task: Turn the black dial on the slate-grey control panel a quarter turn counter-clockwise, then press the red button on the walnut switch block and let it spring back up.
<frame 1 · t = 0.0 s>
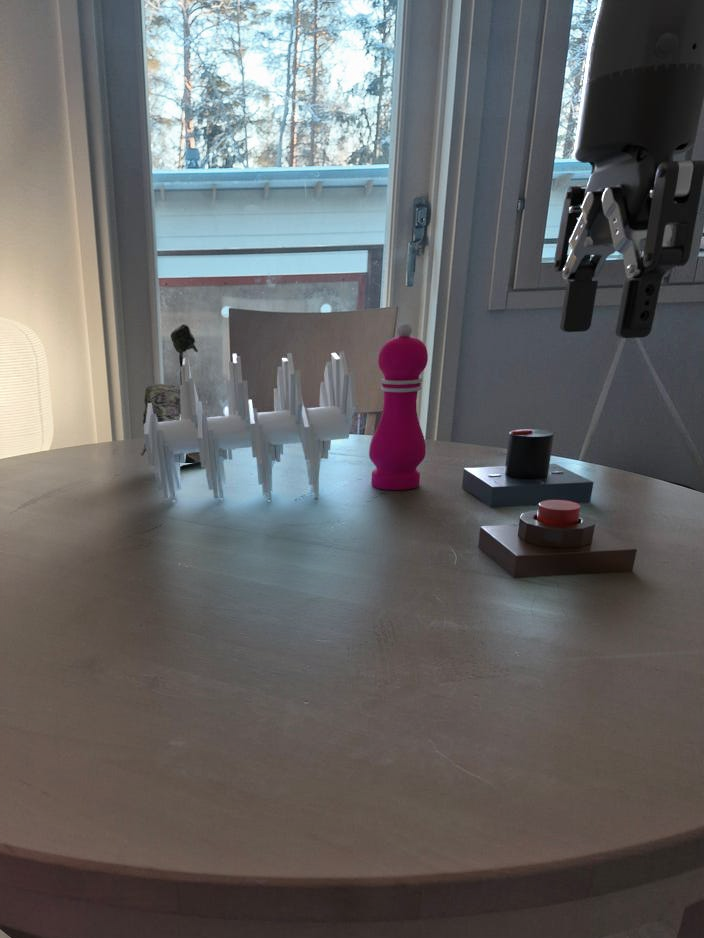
hand: (601, 334, 57), 20 cm above the table, tool pointing down, fingers open, 8 cm apart
spiral staircase: (248, 499, 96), on the table
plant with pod: (178, 466, 115), on the table
pepper mill: (394, 486, 99), on the table
button: (558, 513, 69), point 4 cm above the table, slide at 0.1 cm
switch block: (550, 558, 71), on the table
dial: (528, 452, 90), point 5 cm above the table, hinge at 0.0°
panel: (523, 494, 92), on the table
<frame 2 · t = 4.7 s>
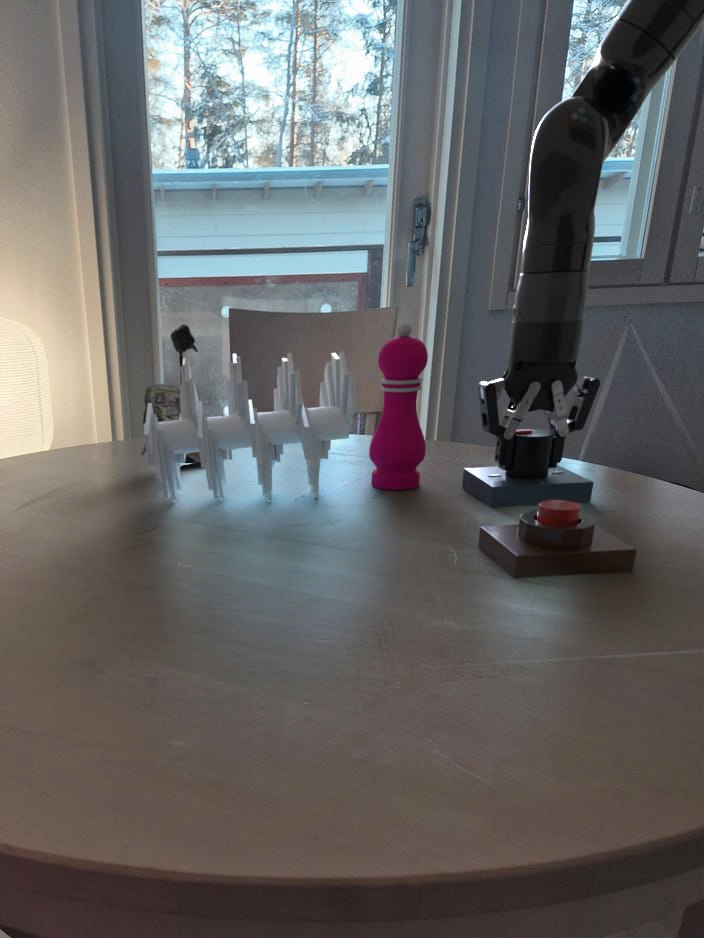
hand: (527, 467, 91), 3 cm above the table, tool pointing down, fingers closed on dial, 5 cm apart
dial: (528, 452, 90), point 5 cm above the table, hinge at -0.1°, touching gripper
everything else where it was.
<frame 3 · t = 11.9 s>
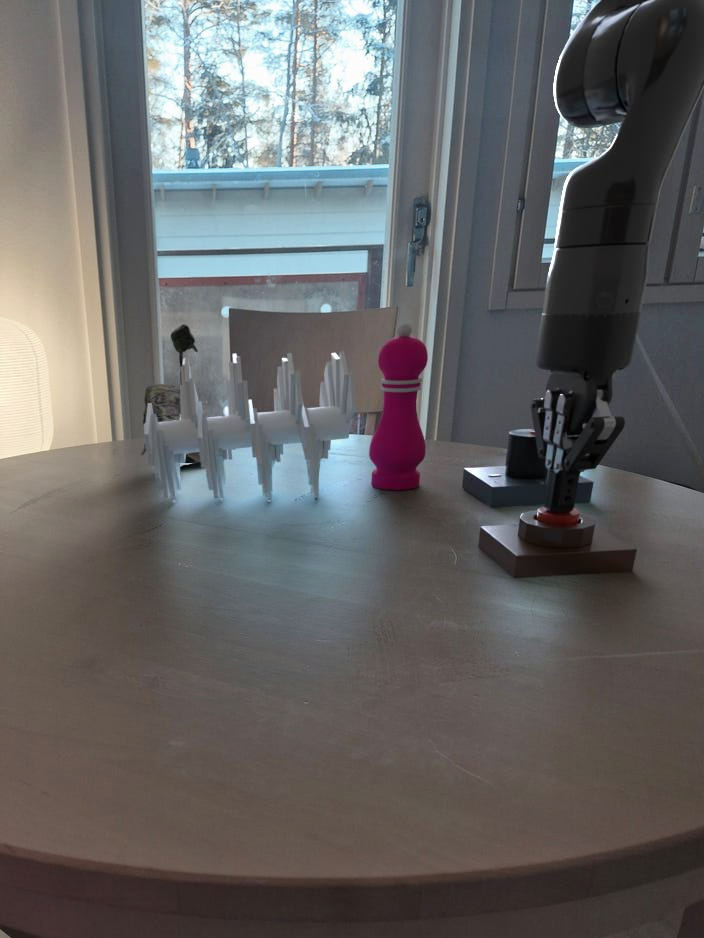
hand: (557, 510, 69), 5 cm above the table, tool pointing down, fingers closed
button: (557, 519, 70), point 4 cm above the table, slide at -0.5 cm, touching gripper
dial: (528, 452, 90), point 5 cm above the table, hinge at 92.1°
everything else where it was.
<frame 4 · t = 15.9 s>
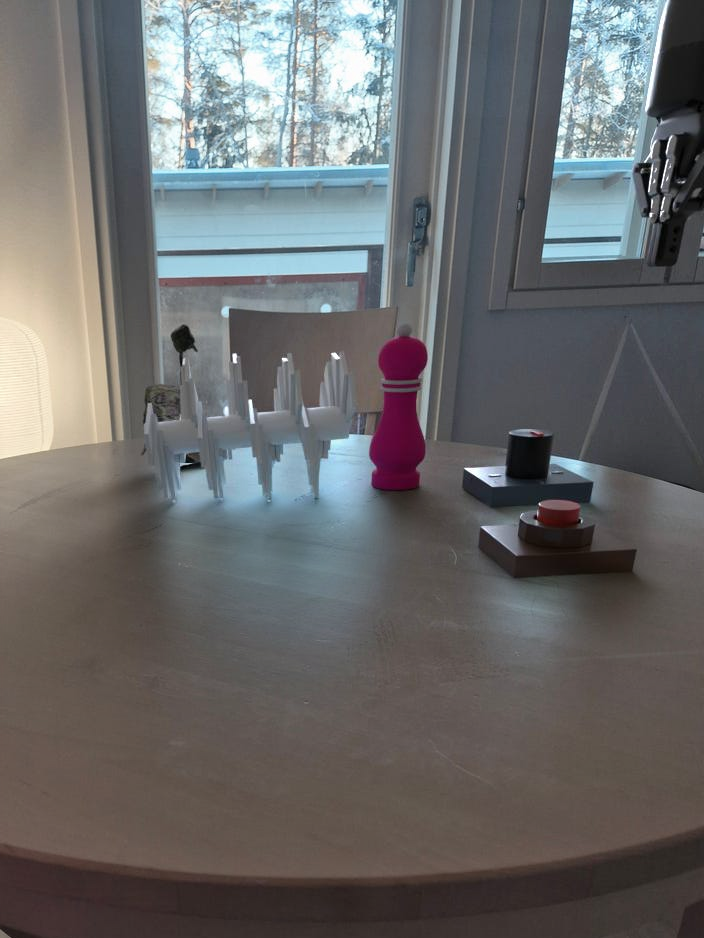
hand: (660, 266, 72), 25 cm above the table, tool pointing down, fingers closed
button: (558, 513, 69), point 4 cm above the table, slide at 0.1 cm
everything else where it was.
at the end: dial at +92° (first picture: +0°); button pushed in 1.1 cm at the most during the clip, back to where it started at the end; button slide at 0.1 cm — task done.
